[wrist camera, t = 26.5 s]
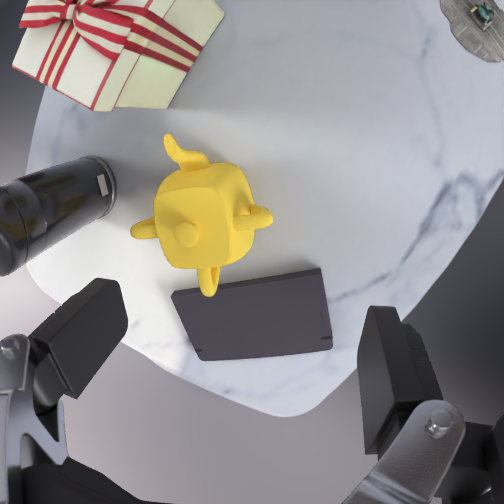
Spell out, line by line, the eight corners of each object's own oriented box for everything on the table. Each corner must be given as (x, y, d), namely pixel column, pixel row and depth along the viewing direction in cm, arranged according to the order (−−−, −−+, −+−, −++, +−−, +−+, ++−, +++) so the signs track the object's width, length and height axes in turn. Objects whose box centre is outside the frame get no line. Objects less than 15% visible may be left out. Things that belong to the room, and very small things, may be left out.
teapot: (147, 205, 39) (103, 232, 30) (201, 128, 34) (163, 132, 25) (224, 270, 41) (200, 314, 32) (289, 201, 36) (282, 232, 27)
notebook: (320, 268, 39) (174, 290, 44) (321, 273, 37) (170, 296, 43) (333, 342, 43) (202, 355, 49) (333, 349, 42) (200, 361, 47)
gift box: (244, -12, 26) (197, -87, 10) (176, 114, 34) (85, 119, 18) (136, -32, 25) (59, -76, 9) (82, 78, 33) (-14, 78, 18)
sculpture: (440, -31, 19) (493, -29, 13) (466, 4, 24) (511, 10, 18) (438, 34, 23) (497, 42, 17) (463, 66, 28) (512, 77, 22)
